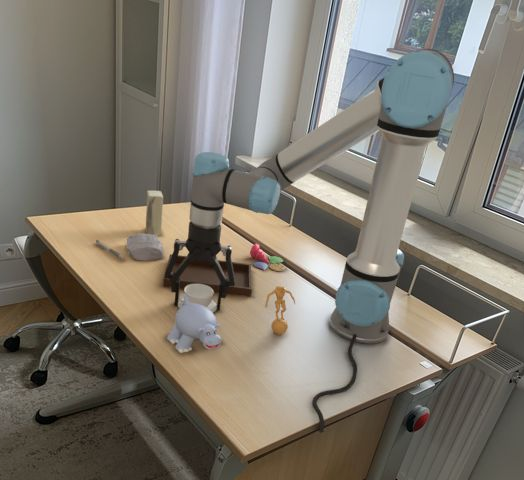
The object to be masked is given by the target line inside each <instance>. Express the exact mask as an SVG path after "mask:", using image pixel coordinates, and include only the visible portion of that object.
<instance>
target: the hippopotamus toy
mask: <svg viewBox="0 0 524 480" xmlns="http://www.w3.org/2000/svg"><path fill="white" fill-rule="evenodd" d="M180 295H184V302H185V305H183V306H182V307H181V308H178V310H177V311H176V314H175V317H174V318H175V319H174V324H173V326H172V327H171V330H170V332H168V335H167V338H166V339H167V341H168V342H170V343H171V344H172V345H174V344H176V345H175V350H177V351H178V353H179V354H183V353H189V352H190V351H192V350H193V348H192V345H193V343H194V342H195V340H199V341H200V343H202V345H203V347H204V348H205V349H207V350H210V351H214V350H216V349H218V348H220V346H221V342H222V337H221V336H220V335H219V334H217V329H220V328H221V325H220V324H219V323H218V320H217V318H216V316H215V314H214V312H213V313H212V312H211V311H210V310H209V309H208V308H206V307H204V306H202V305H199V304H196V303H191V302H190V301H189V299H188V297H187V295H186V294H184V292H183V293H180Z"/></svg>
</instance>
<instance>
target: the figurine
mask: <svg viewBox="0 0 524 480" xmlns="http://www.w3.org/2000/svg"><path fill="white" fill-rule="evenodd" d="M286 293H287V294H289V296H290V298H291V299H292V300H293V304H296V300H295V297H294V296H293V294H292V292H291V291H290V290H288V289H286V288H285V286H281V285H277V286H276V287H275V289H273V290H272V291H271V292H269V293H268V294H267V297H266V301H265V306H264V308H267V307H268V306H269V304H268V303H269V300H270V297H271V296H272V295H274V294H275V297H276V300H274V305H275V309H276V310H275V318H276V319H274V320H273V321H272V323H271V330H272V332H273V333H274V334H276V335H284V334H285V333H286V332H287V331H288V328H289V326H288V325H289V324H288V322H287V320H286V319H285V318H284V312H286V311H287V307H286V300H285V299H284V297H285V295H286ZM281 308H282V309H281ZM279 313H280V318H279Z"/></svg>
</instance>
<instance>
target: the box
mask: <svg viewBox="0 0 524 480" xmlns="http://www.w3.org/2000/svg"><path fill="white" fill-rule="evenodd" d="M163 207H164V196H163V193H162V190H147V191H146V215H145V231H146V234H151V235H155V234H157V236H161V235H162V226H163V225H162V223H163V210H164V209H163Z"/></svg>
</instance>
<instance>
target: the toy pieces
mask: <svg viewBox="0 0 524 480" xmlns="http://www.w3.org/2000/svg"><path fill="white" fill-rule="evenodd" d="M249 255H250V257H251V258H252V259H255V260H259V261H254V262H253V263H252V265H253V266H254V267H255V268H257V269H260V270H263V271H265V270H266V269H267V268H269V269H270V270H272V271H275V272H284V270H285V269H286V267H285V266H283V265H282V264H281V263H284V259H282V257H279V256H276V255H272V256H271V255H269V257H267V256H266V255H265V253H264V252H263V249H261V248H260V245H259V244H258V243H254V244H253V245H252V246H251V248H250V251H249ZM279 263H280V264H279ZM268 264H269V265H268Z"/></svg>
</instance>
